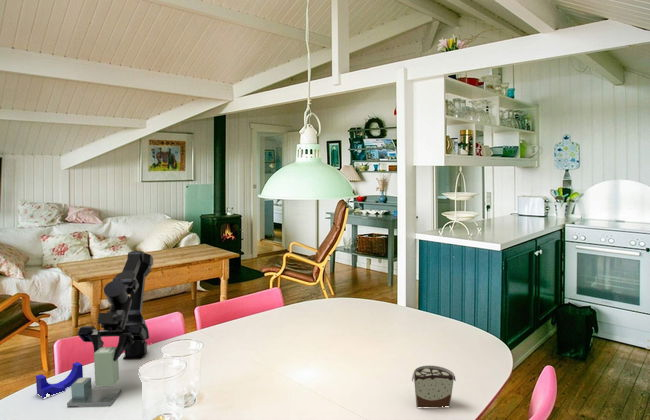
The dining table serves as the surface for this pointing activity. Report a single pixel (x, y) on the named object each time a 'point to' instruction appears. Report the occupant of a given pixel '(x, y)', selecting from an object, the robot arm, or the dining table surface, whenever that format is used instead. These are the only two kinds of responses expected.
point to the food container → (433, 386)
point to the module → (106, 367)
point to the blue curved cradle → (51, 389)
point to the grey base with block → (91, 394)
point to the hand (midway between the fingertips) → (105, 360)
